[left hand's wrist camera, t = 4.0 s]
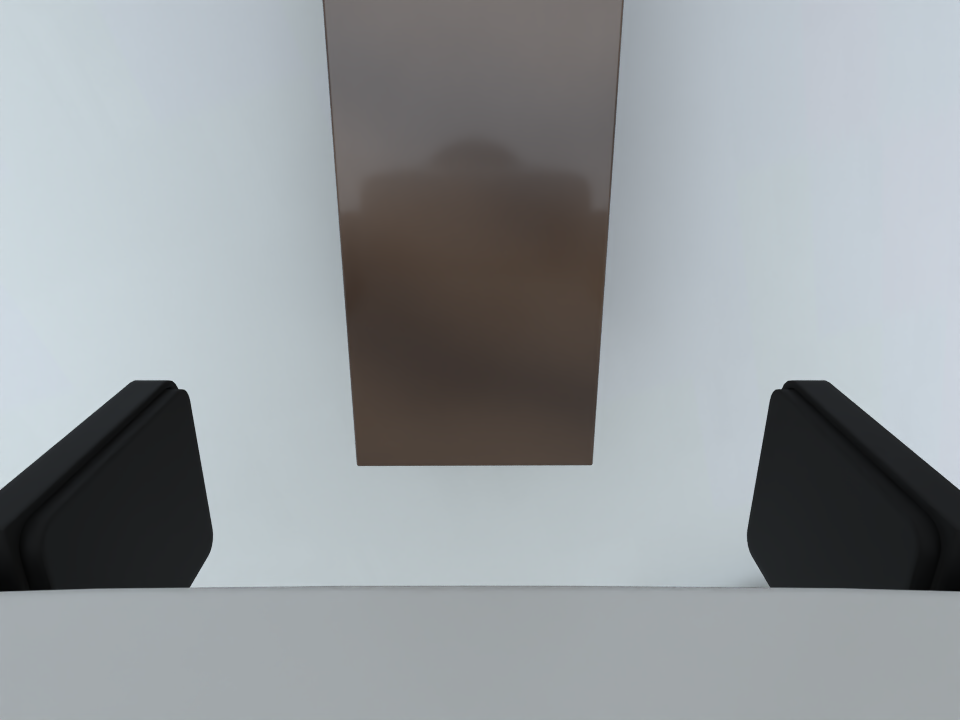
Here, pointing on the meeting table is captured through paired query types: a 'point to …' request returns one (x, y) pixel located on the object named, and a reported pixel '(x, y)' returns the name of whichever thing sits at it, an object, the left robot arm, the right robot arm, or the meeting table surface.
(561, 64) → the cabinet
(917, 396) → the meeting table surface
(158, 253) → the meeting table surface
